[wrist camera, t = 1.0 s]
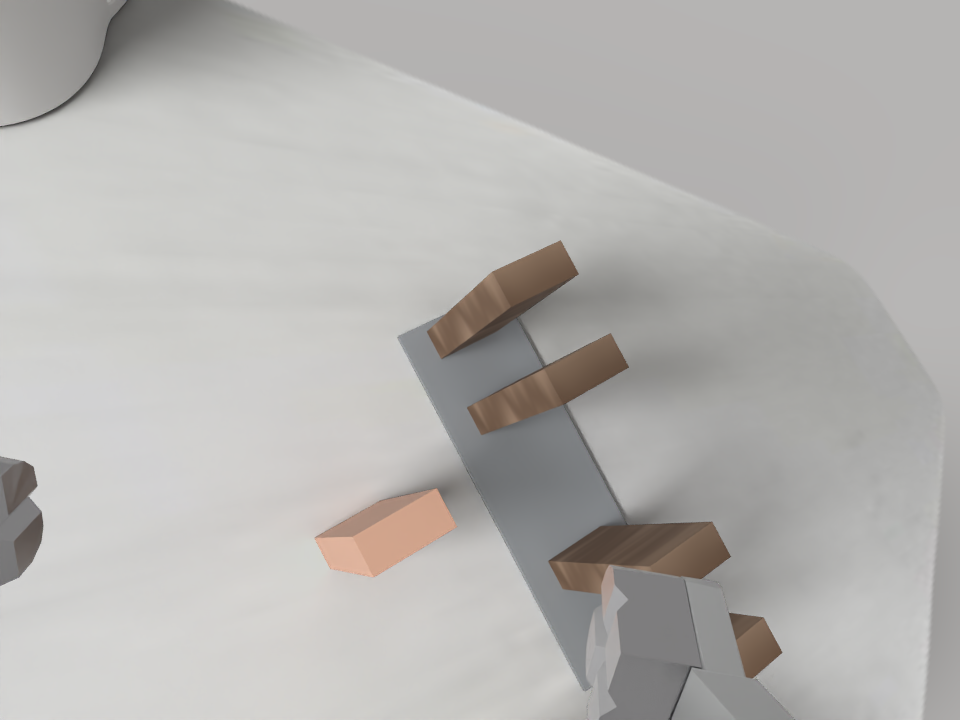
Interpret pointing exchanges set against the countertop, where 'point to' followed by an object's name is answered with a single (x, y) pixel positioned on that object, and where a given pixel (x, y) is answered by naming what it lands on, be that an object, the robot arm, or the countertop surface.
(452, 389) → the mat
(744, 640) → the domino
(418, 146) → the countertop surface
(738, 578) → the countertop surface
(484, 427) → the domino
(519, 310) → the domino
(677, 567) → the domino
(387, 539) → the domino
